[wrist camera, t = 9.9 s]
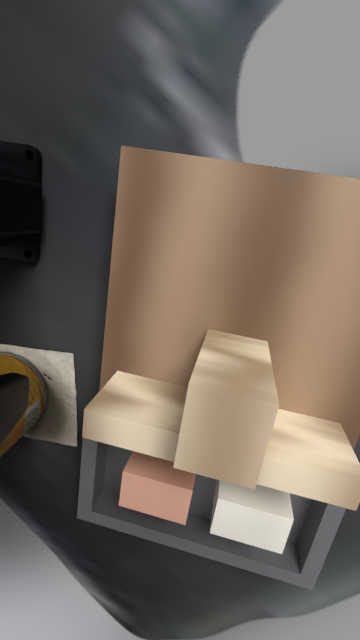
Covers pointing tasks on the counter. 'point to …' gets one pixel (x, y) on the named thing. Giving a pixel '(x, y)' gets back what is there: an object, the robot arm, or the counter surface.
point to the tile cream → (252, 515)
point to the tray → (205, 521)
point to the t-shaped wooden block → (228, 425)
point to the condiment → (43, 395)
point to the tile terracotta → (156, 488)
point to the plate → (237, 275)
